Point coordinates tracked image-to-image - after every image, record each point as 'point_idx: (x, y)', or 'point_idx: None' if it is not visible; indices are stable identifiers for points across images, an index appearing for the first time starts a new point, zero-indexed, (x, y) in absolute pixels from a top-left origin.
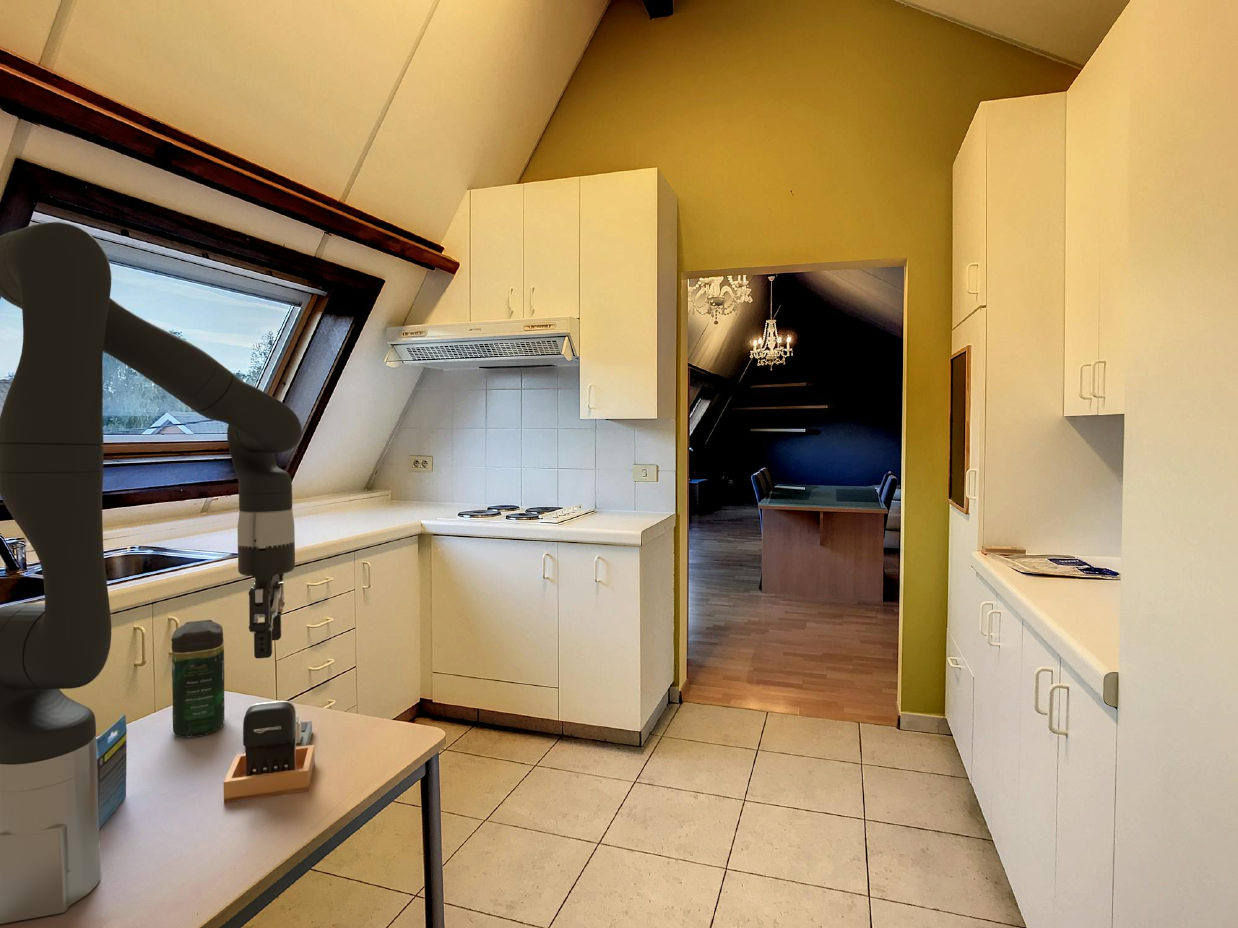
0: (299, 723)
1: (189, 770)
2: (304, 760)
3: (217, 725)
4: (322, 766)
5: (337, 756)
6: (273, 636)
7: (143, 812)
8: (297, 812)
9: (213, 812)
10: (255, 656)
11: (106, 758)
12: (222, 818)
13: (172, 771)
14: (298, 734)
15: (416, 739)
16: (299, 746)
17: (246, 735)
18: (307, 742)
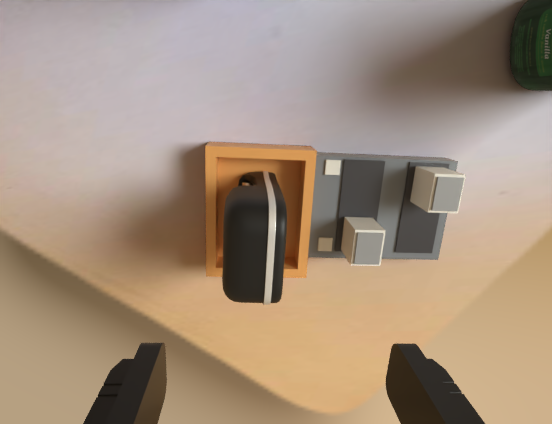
0: (352, 264)
1: (358, 59)
2: (295, 253)
3: (521, 82)
4: None
5: (312, 293)
6: (393, 378)
7: (217, 10)
8: (145, 251)
9: (181, 130)
10: (140, 346)
11: None
12: (157, 147)
13: (367, 27)
14: (345, 254)
15: (325, 394)
16: (328, 249)
17: (226, 199)
18: None
